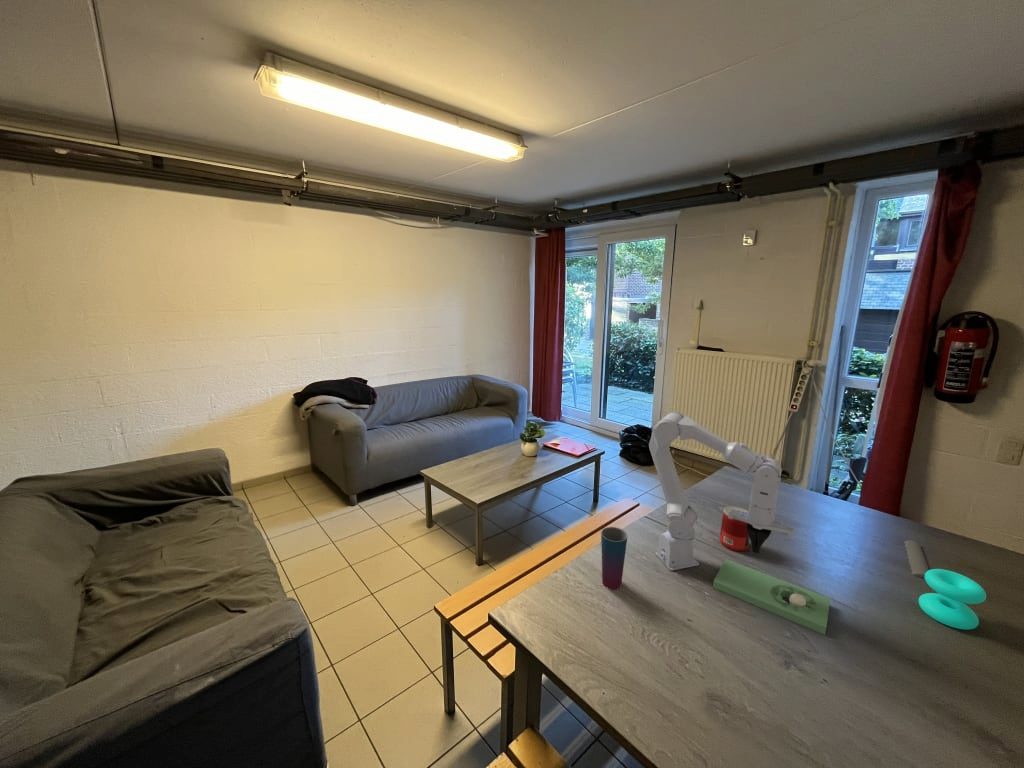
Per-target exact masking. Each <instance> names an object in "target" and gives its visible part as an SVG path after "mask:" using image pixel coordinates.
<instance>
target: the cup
mask: <svg viewBox="0 0 1024 768" xmlns="http://www.w3.org/2000/svg"><path fill="white" fill-rule="evenodd" d="M600 535H601V536H600V537H601V538H600V540H601V541H600V542H601V546H600V547H601V582H602V583H601V584H602V585H603V586H604V587H605V588H607V587H608V588H607V589H609V588H611V589H610V590H613V589H614V590H618V589H620V588H621V587H620V586H622V580H623V573H624V564H625V560H626V559H625V558H626V550H627V545H628V543H627V542H628V533H627V532H626V531H625V530H624V529H622V528H620V527H616V526H607V527H605V528H603V529H602V530H601V531H600ZM617 588H618V589H617Z"/></svg>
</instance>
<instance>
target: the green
mask: <svg viewBox="0 0 1024 768" xmlns="http://www.w3.org/2000/svg"><path fill="white" fill-rule="evenodd" d="M723 561H724V562H723V563H722V564H721V567H720V569H719V571H718V572H717V574H716V576H715V578H714V579H713V585H712V588H714V589H716V590H718V591H721V592H722V593H725V594H727V595H730V596H732V597H735V598H737V599H740V600H741V601H744V602H746V603H749V604H751V605H753V606H756V607H758V608H760V609H762V610H766V611H768V612H770V613H773V614H774V615H776V616H778V617H779V616H780V618H781V617H782V618H784V619H785V620H789V621H790V622H793V623H795V624H798V625H801V626H802V627H805V628H807V629H810V630H812V631H815V632H817V633H819V634H821V635H824V636H825V635H826V632H827V626H828V619H829V610H830V602H831V597H828V596H825V595H822V594H819V593H816V592H814V591H811V590H809V589H806V588H803V587H801V586H798V585H796V584H794V583H790V582H788V581H785V580H782V579H780V578H777V577H774V576H772V575H769V574H766V573H764V572H761V571H759V570H755V569H754V568H751V567H748V566H745V565H742V564H740V563H737V562H735V561H732V560H729V559H727V558H725V559H724V560H723ZM794 593H797V594H800V595H802V596H803V597H804V598H805V600H806V606H804V607H797V606H793V605H791V603H790V602H787V601H786V600H785V599H783V598H788V599H789V597H790V595H791V594H794Z"/></svg>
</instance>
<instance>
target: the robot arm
mask: <svg viewBox="0 0 1024 768" xmlns="http://www.w3.org/2000/svg"><path fill="white" fill-rule="evenodd" d="M678 437H679V441H684V440H685V441H686V440H694V441H697V442H699V443H701V444H703V445H704V446H707V447H708V448H710V449H712V450H714V451H716V452H718V453H721V454H722V456H723V459H724V461H726V462H727V463H729V464H730V465H732V466H734V467H736V468H738V469H739V470H741V471H743V472H745V473H747V474H749V475H751V476H752V479H753V484H752V486H751V493H750V497H749V498H750V500H749V506H748V511H749V512H743V511H737V510H733V509H730V511H729V515H728V518H730V519H733V518H734V519H737V520H740V521H743V522H746V523H747V527H746V531H747V533H748V535H749V537H750V540H749V541H750V543H751V551H752V553H755V554H757V555H759V554H760V551H761V549H762V546H763V545H764V543H765V542H766V540H768V538H769V537H770V536H771V533H772V532H773V533H777V534H780V535H782V536H786V537H787V538H789V539H791V540H793V538H794V536H795V535H794V534H795V528H794V527H790V526H788V525H786V524H784V523H782V522H780V521H777V520H775V515H776V510H777V502H778V495H779V486H780V482H781V481H782V478H781V476H782V465H781V464H780V462H779V461H778V460H777V459H775V458H774V457H773V456H770V455H769V456H768V455H765V454H763V453H762V454H759V452H756V451H754V450H752V449H750V448H748V444H746V443H745V442H741V443H740V442H738V441H735V442H728V441H727V440H725V439H724V438H723V437H720V436H718V435H717V434H715V433H714V432H712V431H710V430H709V429H707V428H705V427H704V426H703V425H700V424H699V423H697V422H696V421H694V420H693V419H692V418H691V417H689V416H686V415H683V414H682V412H681V413H680V412H678V411H670V412H668V413H667V414H665V415H664V417H663V418H662V419H660V420H658V422H656V424H655V425H654V426H653V428H652V429H651V436H650V440H649V443H648V447H649V452H650V455H651V457H652V461H653V464H654V467H655V470H656V474H657V477H658V478H659V479H658V480H659V483H660V486H661V488H662V492H663V494H664V499H665V501H666V505H667V506H666V517H667V524H666V527H667V531H665V532H663V533H661V534H660V535H659V536H658V539H657V551H656V552H655V556H656V557H658V559H660V561H661V562H662V563H663V564H664V565H665V566H666V567H667V568H668V569H669V570H670V571H676V570H681V569H685V568H687V569H688V568H692V567H693V568H694V567H697V566H700V563H699V562H698V561H697V560H696V559H695V558H694V548H695V538H696V532H695V529H694V526H695V524H696V523H697V521H698V514H697V512H696V511H695V509H694V507H692V506H691V505H692V504H691V503H690V500H689V499H687V497H686V496H685V493H684V490H683V487H682V484H681V481H680V478H679V475H678V471H677V469H676V465H675V462H674V458H673V456H672V452H671V451H670V446H671V445H672V442H674V441H675V440H676V439H677V438H678Z"/></svg>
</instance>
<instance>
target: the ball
mask: <svg viewBox="0 0 1024 768" xmlns="http://www.w3.org/2000/svg"><path fill="white" fill-rule="evenodd" d="M788 601H789V604H791V605H793V606H797V607H804V606H806V600H805V598H804V597H803V596H802V595H800V594H797V593H794V594H791V595H790V597H789V598H788Z"/></svg>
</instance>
